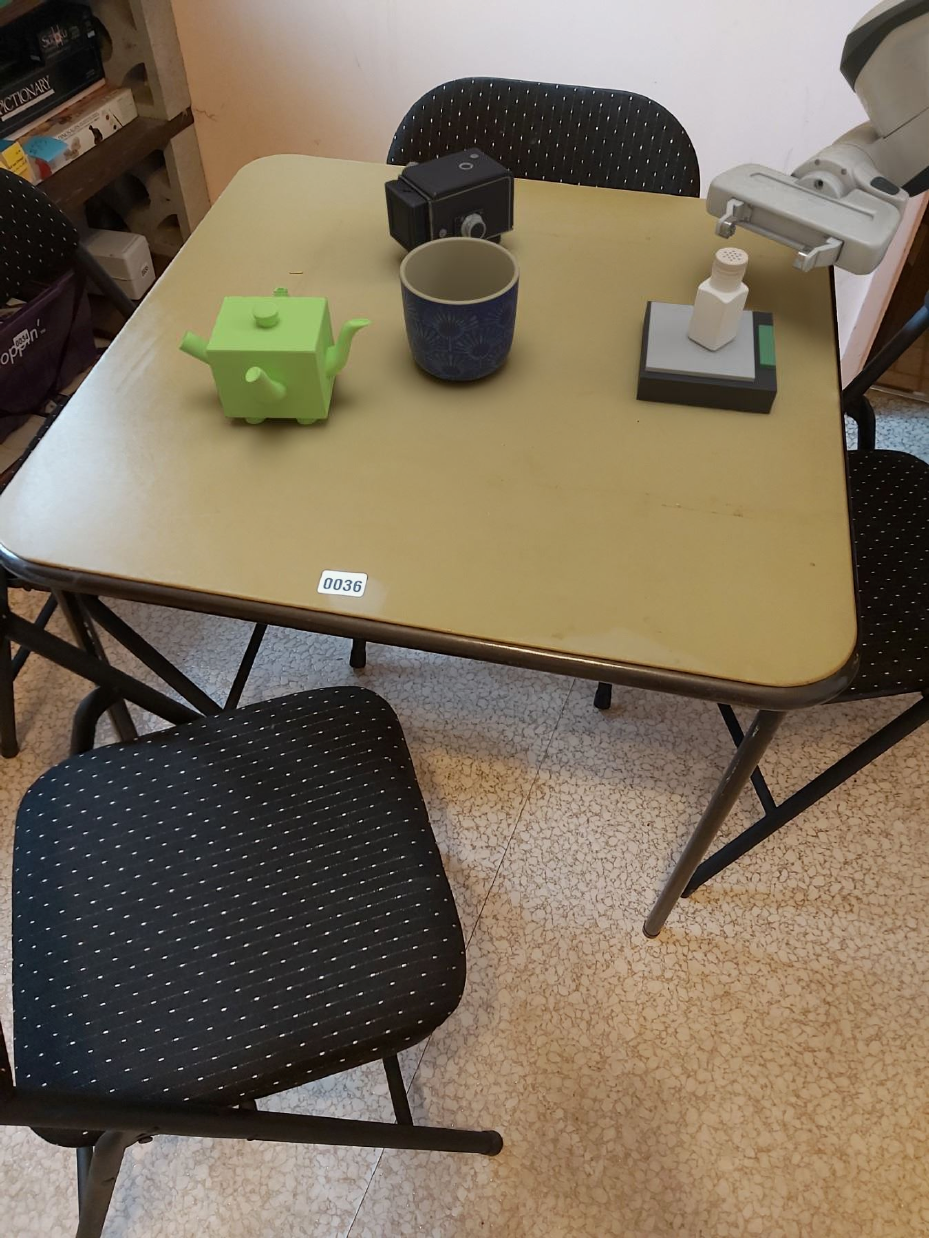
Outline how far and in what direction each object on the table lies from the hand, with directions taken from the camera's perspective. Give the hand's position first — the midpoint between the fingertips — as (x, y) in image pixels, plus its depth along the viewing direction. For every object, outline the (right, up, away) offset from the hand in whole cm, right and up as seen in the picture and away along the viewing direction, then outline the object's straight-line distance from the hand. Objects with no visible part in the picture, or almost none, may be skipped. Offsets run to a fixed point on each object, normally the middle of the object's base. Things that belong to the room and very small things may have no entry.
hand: (760, 246), depth 87 cm
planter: (-31, -9, +8) cm, 34 cm away
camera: (-32, +8, +20) cm, 39 cm away
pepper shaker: (-4, -9, +4) cm, 10 cm away
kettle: (-50, -16, +3) cm, 53 cm away
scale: (-4, -11, +6) cm, 13 cm away
